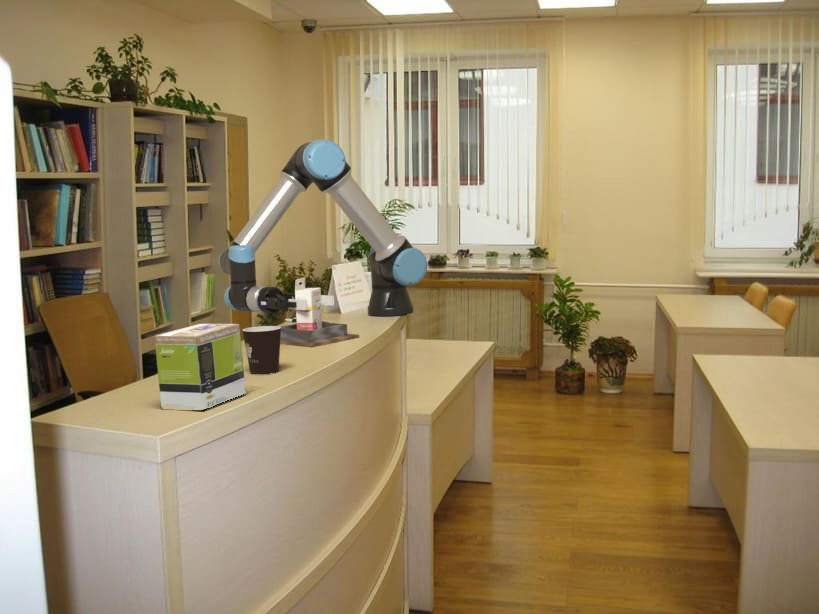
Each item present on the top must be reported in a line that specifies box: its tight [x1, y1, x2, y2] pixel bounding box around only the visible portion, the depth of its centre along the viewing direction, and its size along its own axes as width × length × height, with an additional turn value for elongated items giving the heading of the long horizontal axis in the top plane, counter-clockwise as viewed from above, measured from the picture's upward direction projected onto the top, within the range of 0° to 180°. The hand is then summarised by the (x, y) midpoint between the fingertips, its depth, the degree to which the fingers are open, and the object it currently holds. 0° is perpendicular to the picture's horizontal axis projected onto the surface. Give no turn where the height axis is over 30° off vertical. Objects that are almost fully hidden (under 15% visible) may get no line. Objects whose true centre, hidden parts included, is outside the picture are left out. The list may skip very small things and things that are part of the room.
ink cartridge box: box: [294, 277, 323, 330], centre depth 257 cm, size 9×5×15 cm, turn 168°
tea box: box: [154, 323, 247, 409], centre depth 181 cm, size 15×10×15 cm, turn 157°
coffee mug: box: [242, 325, 282, 375], centre depth 212 cm, size 12×9×10 cm
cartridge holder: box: [280, 321, 360, 348], centre depth 257 cm, size 18×20×4 cm
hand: (319, 302), depth 254 cm, fingers closed on ink cartridge box, 9 cm apart
